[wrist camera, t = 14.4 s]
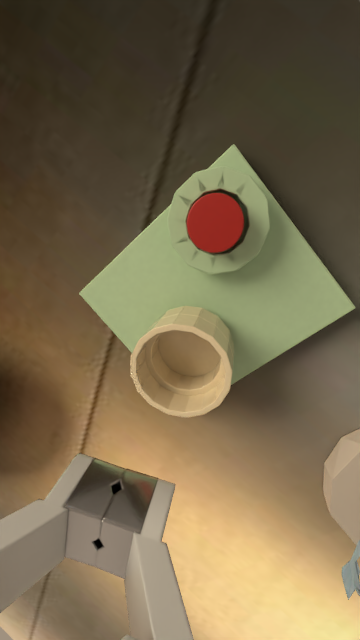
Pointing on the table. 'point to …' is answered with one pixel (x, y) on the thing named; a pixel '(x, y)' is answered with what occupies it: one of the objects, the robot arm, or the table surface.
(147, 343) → the beige cup
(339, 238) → the table surface
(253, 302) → the green base plate
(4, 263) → the table surface
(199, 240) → the button
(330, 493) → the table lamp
